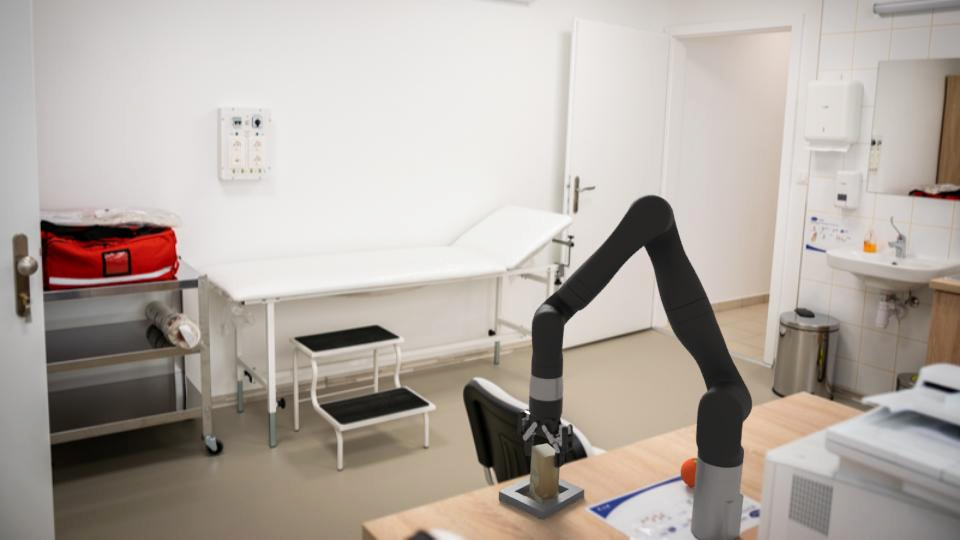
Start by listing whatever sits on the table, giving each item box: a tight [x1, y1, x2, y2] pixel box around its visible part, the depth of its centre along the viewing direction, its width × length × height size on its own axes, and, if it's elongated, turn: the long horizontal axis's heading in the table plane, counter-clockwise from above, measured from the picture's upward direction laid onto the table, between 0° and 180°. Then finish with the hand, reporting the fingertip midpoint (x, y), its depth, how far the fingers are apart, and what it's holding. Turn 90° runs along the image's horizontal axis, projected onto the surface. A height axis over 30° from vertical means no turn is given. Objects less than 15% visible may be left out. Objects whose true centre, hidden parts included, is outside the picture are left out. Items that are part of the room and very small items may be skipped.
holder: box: [498, 475, 585, 521], centre depth 182 cm, size 13×15×2 cm
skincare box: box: [528, 443, 561, 504], centre depth 181 cm, size 6×4×12 cm
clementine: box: [679, 457, 697, 489], centre depth 189 cm, size 8×7×7 cm
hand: (543, 460), depth 180 cm, fingers open, 8 cm apart
